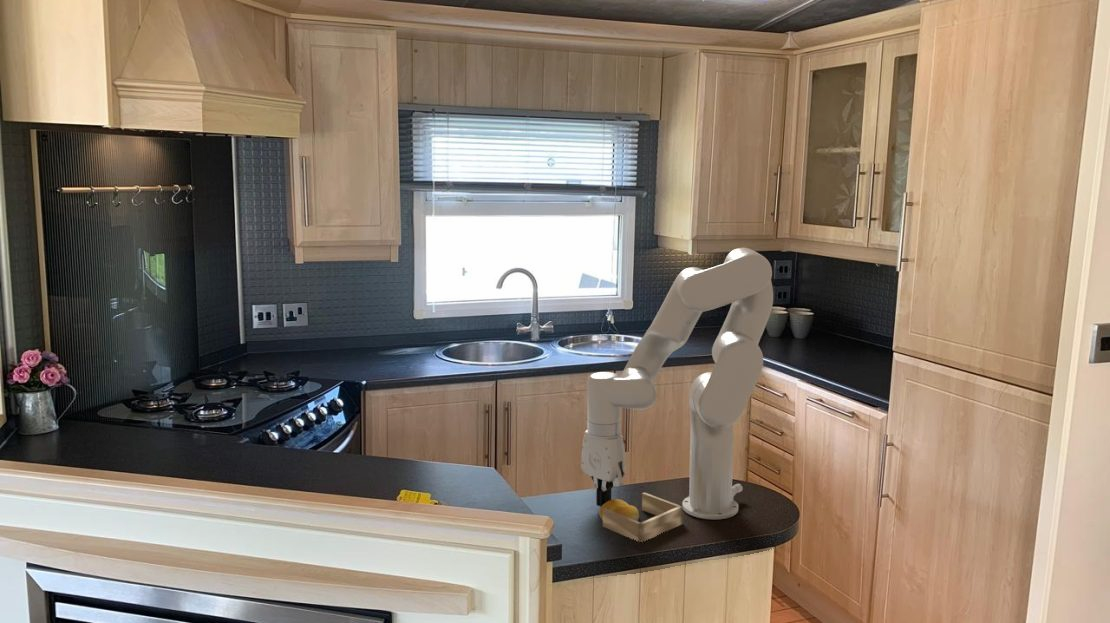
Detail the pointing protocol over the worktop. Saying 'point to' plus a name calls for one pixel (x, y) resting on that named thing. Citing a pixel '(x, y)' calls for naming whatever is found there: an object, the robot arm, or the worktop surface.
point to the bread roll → (620, 509)
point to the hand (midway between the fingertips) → (603, 504)
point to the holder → (664, 520)
